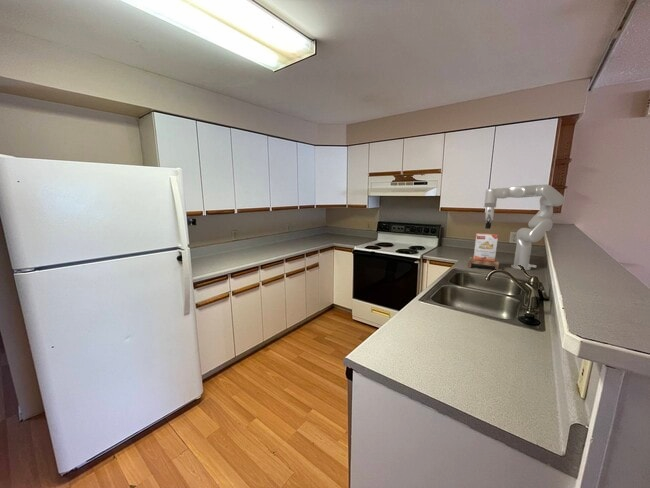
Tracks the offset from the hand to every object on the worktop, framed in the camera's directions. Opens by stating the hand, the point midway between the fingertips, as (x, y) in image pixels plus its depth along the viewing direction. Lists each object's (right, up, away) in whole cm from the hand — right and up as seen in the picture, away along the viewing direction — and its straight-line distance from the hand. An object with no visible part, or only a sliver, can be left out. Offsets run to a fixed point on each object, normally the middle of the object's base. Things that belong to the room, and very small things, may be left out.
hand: (488, 227), depth 204 cm
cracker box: (0, -26, +5) cm, 26 cm away
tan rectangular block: (-1, -31, +6) cm, 32 cm away
